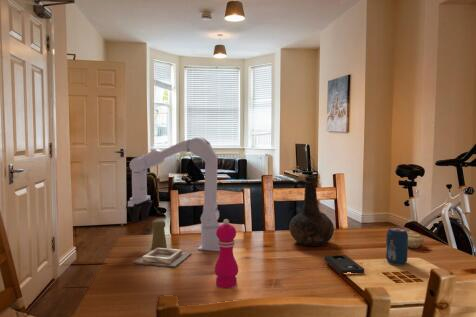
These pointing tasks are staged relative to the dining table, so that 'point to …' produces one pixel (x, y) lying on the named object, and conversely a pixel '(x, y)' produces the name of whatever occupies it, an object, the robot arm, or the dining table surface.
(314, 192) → the dark bottle vase
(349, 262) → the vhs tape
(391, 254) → the soda can
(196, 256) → the dining table surface
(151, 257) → the collar board
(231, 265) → the pepper mill
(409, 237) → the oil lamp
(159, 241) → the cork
